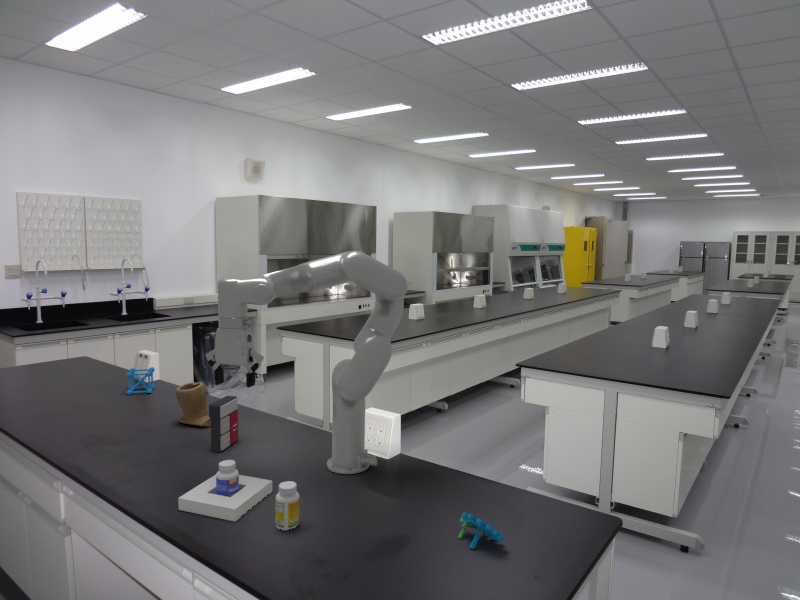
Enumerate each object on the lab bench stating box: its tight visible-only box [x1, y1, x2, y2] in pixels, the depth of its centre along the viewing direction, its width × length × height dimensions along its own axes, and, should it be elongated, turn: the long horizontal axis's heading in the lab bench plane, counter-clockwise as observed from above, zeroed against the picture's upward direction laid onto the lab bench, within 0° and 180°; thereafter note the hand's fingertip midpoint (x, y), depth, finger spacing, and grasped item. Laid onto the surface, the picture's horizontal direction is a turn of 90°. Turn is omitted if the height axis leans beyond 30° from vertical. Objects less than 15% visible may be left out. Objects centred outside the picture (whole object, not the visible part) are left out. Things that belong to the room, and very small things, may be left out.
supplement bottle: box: [274, 480, 300, 531], centre depth 118 cm, size 5×5×10 cm
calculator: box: [208, 395, 239, 453], centre depth 164 cm, size 11×4×15 cm, turn 168°
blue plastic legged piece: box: [457, 511, 505, 550], centre depth 112 cm, size 11×6×10 cm
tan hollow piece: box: [175, 381, 211, 427], centre depth 184 cm, size 15×12×15 cm
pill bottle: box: [215, 459, 240, 497], centre depth 129 cm, size 5×5×10 cm
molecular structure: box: [125, 366, 156, 396], centre depth 223 cm, size 10×10×10 cm
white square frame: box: [177, 474, 273, 523], centre depth 129 cm, size 16×16×3 cm
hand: (235, 384), depth 141 cm, fingers open, 9 cm apart
